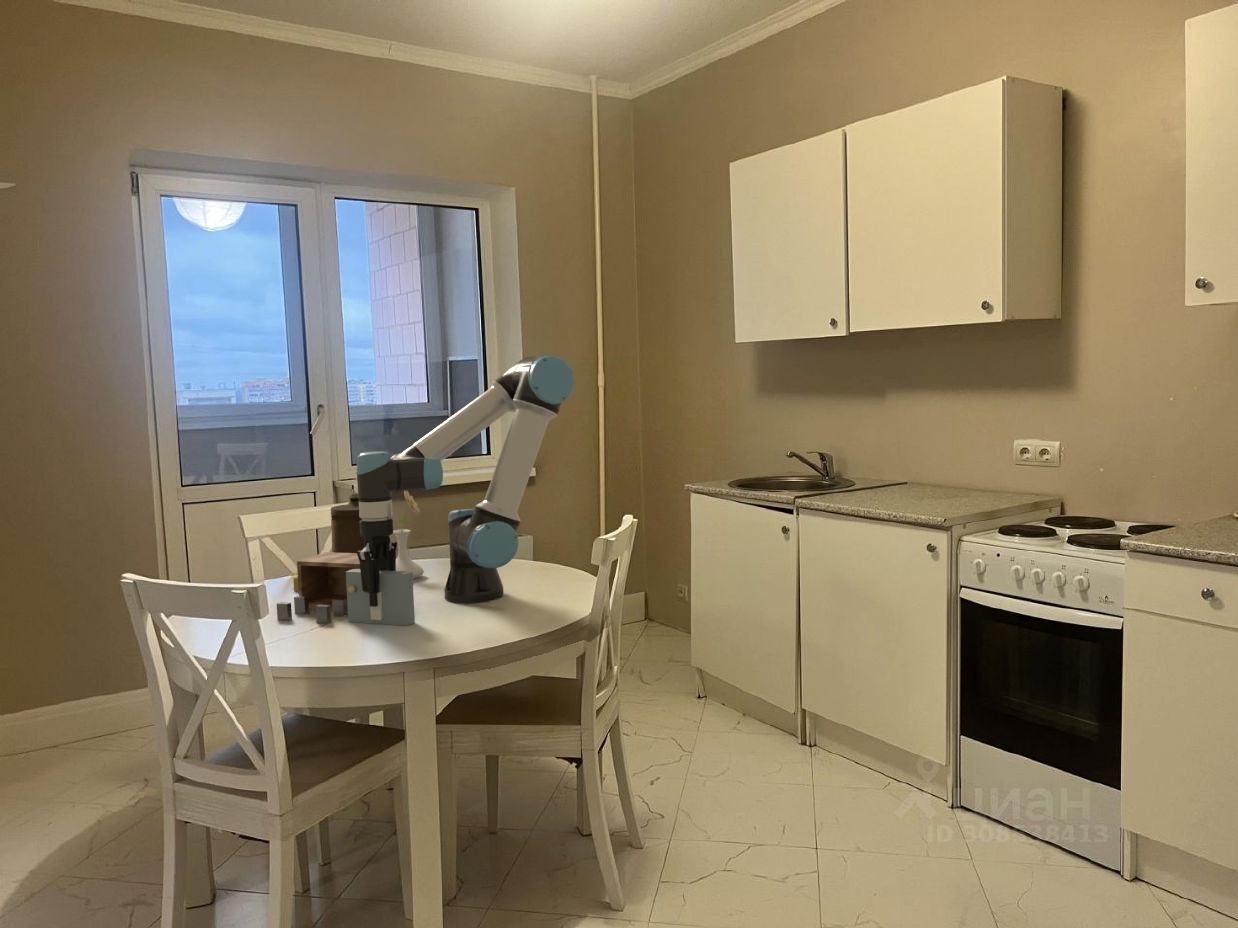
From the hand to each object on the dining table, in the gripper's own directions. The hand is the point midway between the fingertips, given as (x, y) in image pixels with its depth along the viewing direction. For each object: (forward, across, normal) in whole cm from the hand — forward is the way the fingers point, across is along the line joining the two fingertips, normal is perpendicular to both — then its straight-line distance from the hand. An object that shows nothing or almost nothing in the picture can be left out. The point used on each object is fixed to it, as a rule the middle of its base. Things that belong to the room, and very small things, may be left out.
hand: (381, 617), depth 220 cm
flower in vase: (+1, -44, -20) cm, 48 cm away
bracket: (+2, -28, -39) cm, 48 cm away
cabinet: (+1, -13, -19) cm, 23 cm away
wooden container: (+1, -58, -45) cm, 73 cm away
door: (+1, 0, 0) cm, 1 cm away
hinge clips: (+1, 0, -19) cm, 19 cm away
